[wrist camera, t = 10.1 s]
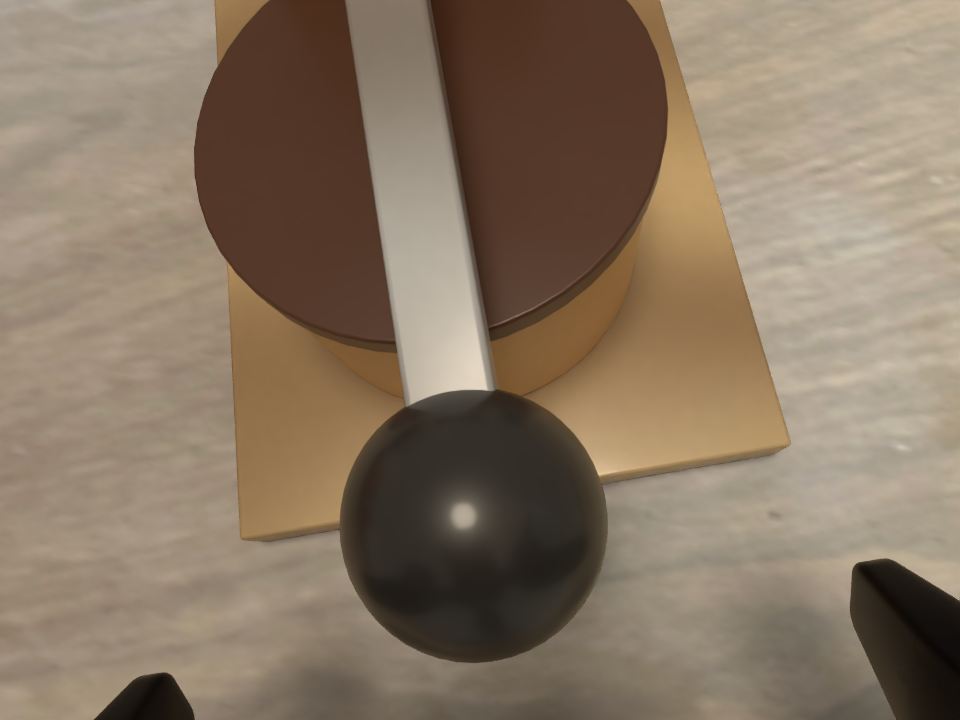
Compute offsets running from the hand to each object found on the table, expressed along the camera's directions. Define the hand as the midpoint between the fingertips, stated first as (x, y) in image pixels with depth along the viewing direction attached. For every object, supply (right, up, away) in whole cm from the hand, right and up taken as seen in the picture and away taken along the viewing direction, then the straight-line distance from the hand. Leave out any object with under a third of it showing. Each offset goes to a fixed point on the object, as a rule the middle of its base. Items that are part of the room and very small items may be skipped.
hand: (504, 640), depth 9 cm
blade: (-1, +8, +2) cm, 8 cm away
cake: (-1, +6, +8) cm, 10 cm away
